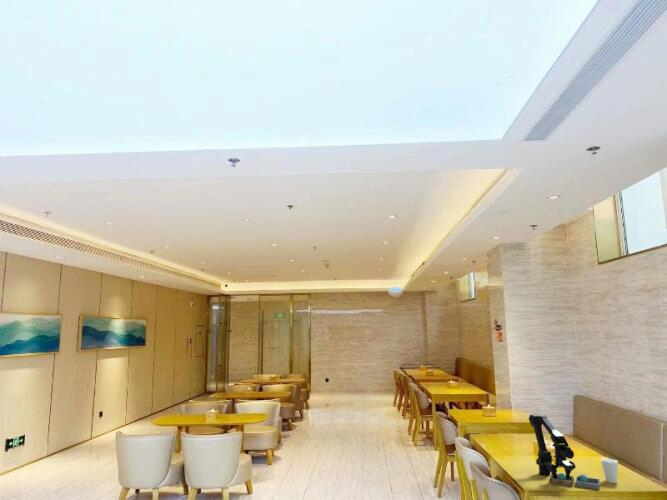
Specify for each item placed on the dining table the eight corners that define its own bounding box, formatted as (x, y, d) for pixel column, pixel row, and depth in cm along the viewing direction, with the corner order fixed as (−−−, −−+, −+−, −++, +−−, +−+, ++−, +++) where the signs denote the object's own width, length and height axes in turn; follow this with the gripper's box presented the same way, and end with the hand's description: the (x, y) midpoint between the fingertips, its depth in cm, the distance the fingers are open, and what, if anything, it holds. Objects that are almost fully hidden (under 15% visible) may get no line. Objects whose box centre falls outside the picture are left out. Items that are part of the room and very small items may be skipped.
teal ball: (557, 481, 304) (556, 473, 305) (558, 479, 308) (557, 471, 309) (565, 483, 301) (565, 474, 302) (566, 480, 306) (565, 472, 306)
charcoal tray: (575, 486, 296) (575, 481, 297) (577, 480, 308) (576, 476, 308) (599, 490, 290) (599, 485, 290) (600, 484, 301) (599, 479, 302)
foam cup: (614, 479, 311) (612, 458, 314) (622, 483, 302) (620, 462, 304) (600, 479, 311) (598, 458, 313) (608, 483, 302) (606, 462, 304)
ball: (579, 483, 301) (578, 474, 302) (579, 480, 306) (578, 472, 306) (587, 484, 299) (587, 476, 300) (588, 482, 303) (587, 474, 304)
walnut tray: (549, 483, 302) (549, 478, 303) (552, 478, 313) (551, 473, 314) (572, 487, 296) (572, 481, 296) (573, 481, 307) (573, 476, 307)
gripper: (556, 458, 297) (558, 485, 295) (580, 457, 302) (582, 482, 299) (544, 454, 308) (546, 479, 306) (568, 452, 313) (570, 477, 310)
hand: (561, 479), depth 305 cm, fingers open, 9 cm apart
